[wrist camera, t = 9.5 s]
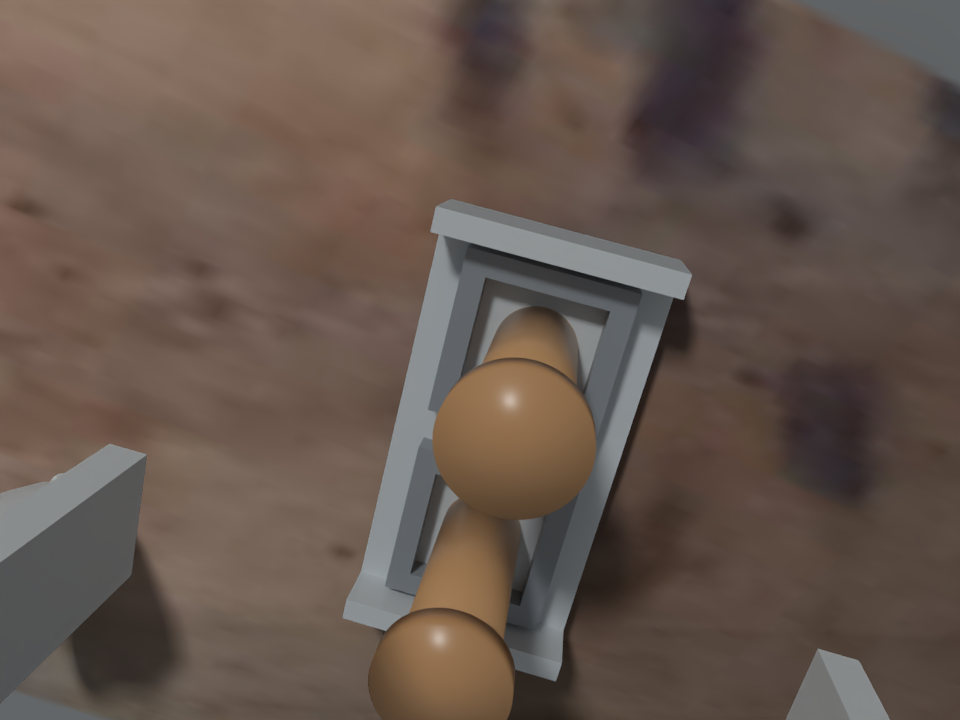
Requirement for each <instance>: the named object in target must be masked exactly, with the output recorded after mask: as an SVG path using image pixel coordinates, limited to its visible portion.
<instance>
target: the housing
mask: <svg viewBox="0 0 960 720" xmlns="http://www.w3.org/2000/svg"><path fill="white" fill-rule="evenodd" d="M430 232H433V233H437V234H439V237H438V241H437V245H436V250H435V254H434V258H433V263H432V267H431V271H430V276H429V280H428V284H427V289H426V293H425V297H424V302H423V306H422V310H421V315H420V319H419V323H418V328H417V332H416V336H415V341H414V345H413V349H412V354H411V358H410V362H409V367H408V371H407V375H406V380H405V384H404V388H403V393H402V397H401V401H400V406H399V410H398V414H397V419H396V423H395V427H394V432H393V436H392V440H391V445H390V449H389V453H388V457H387V462H386V466H385V470H384V475H383V479H382V483H381V488H380V492H379V496H378V501H377V505H376V509H375V514H374V518H373V522H372V527H371V531H370V535H369V540H368V544H367V548H366V553H365V557H364V561H363V566H362V570H361V573H360V575H359V577H358V579H357V580H356V582H355V584H354V586H353V588H352V590H351V592H350V594H349V596H348V598H347V600H346V605H345V609H344V614H343V618H344V619H348V620H351V621H354V622H358V623H361V624H364V625H368V626H371V627H374V628H378V629H381V630H384V631H387V629H388V628H389V627H390V626H391V625H392V624H393V623H394V622H396V621H397V620H398V619H400V618H401V617H403V616H405V615H407V614H409V612H410V609H411V607H412V604H413V601H414V598H415V596H416V593H417V590H418V588H419V585H420V582H421V579H422V577H423V574H424V571H425V568H426V566H427V563H428V560H429V558H430V555H431V552H432V549H433V547H434V544H435V541H436V539H437V536H438V533H439V530H440V528H441V525H442V522H443V519H444V517H445V514H446V512H447V510H448V508H449V507H450V506H451V505H452V503H453V502H455V501H456V500H457V499H459V497H457V496H456V494H455V493H454V492H453V491H452V490H451V489H450V488H449V486H448V485H447V484H446V482H445V481H444V479H443V477H442V476H441V474H440V472H439V470H438V467H437V464H436V462H435V457H434V453H433V444H432V439H433V428H434V423H435V420H436V417H437V414H438V412H439V410H440V408H441V406H442V404H443V402H444V400H445V398H446V396H447V394H448V393H449V391H450V390H451V388H452V387H453V385H454V384H455V383H456V382H457V381H458V380H459V379H460V378H461V377H462V376H463V375H465V374H466V373H467V372H469V371H470V370H472V369H473V368H475V367H477V366H479V365H481V364H482V363H483V360H484V358H485V356H486V354H487V351H488V349H489V347H490V345H491V342H492V340H493V338H494V336H495V333H496V331H497V329H498V327H499V325H500V324H501V322H502V321H503V320H504V319H505V318H506V317H507V316H508V315H510V314H511V313H513V312H514V311H516V310H518V309H521V308H524V307H530V306H540V307H546V308H549V309H552V310H554V311H556V312H558V313H559V314H561V315H562V316H563V317H564V318H565V319H566V320H567V321H568V322H569V323H570V324H571V326H572V327H573V329H574V332H575V334H576V337H577V342H578V364H577V386H578V388H579V389H580V390H581V391H582V393H583V394H584V396H585V397H586V399H587V401H588V403H589V405H590V408H591V411H592V414H593V417H594V422H595V434H596V454H595V461H594V465H593V469H592V471H591V474H590V476H589V478H588V480H587V482H586V483H585V485H584V487H583V488H582V489H581V491H580V492H579V493H578V494H577V495H576V496H575V497H574V498H573V499H572V500H571V501H570V502H569V503H567V504H566V505H565V506H563V507H562V508H560V509H558V510H556V511H554V512H552V513H550V514H547V515H545V516H541V517H538V518H533V519H526V520H519V521H520V526H521V535H520V541H519V548H518V554H517V560H516V566H515V573H514V579H513V585H512V591H511V598H510V604H509V610H508V616H507V622H506V629H505V635H504V641H505V643H506V644H507V646H508V648H509V650H510V652H511V655H512V657H513V661H514V665H515V670H519V671H522V672H525V673H529V674H532V675H535V676H539V677H542V678H545V679H549V680H552V681H556V680H557V677H558V674H559V671H560V668H561V665H562V651H563V630H564V627H565V624H566V621H567V618H568V615H569V612H570V609H571V606H572V603H573V600H574V597H575V594H576V591H577V588H578V585H579V582H580V579H581V576H582V573H583V570H584V567H585V564H586V561H587V558H588V555H589V552H590V549H591V546H592V543H593V540H594V537H595V534H596V531H597V528H598V525H599V522H600V519H601V516H602V513H603V509H604V506H605V503H606V500H607V497H608V494H609V491H610V488H611V485H612V482H613V479H614V476H615V473H616V470H617V467H618V464H619V461H620V458H621V455H622V452H623V449H624V446H625V443H626V440H627V437H628V434H629V431H630V428H631V425H632V422H633V419H634V416H635V413H636V410H637V407H638V404H639V401H640V398H641V395H642V392H643V389H644V386H645V383H646V380H647V376H648V373H649V370H650V367H651V364H652V361H653V358H654V355H655V352H656V349H657V346H658V343H659V340H660V337H661V334H662V331H663V328H664V325H665V322H666V319H667V316H668V313H669V310H670V307H671V304H672V301H673V298H678V299H682V300H684V298H685V295H686V292H687V289H688V286H689V283H690V280H691V277H692V274H691V273H690V271H689V270H688V269H687V267H686V266H685V265H684V263H683V262H682V261H681V260H678V259H675V258H671V257H667V256H663V255H660V254H656V253H652V252H648V251H645V250H641V249H637V248H633V247H630V246H626V245H622V244H618V243H615V242H611V241H607V240H603V239H600V238H596V237H592V236H588V235H585V234H581V233H577V232H573V231H570V230H566V229H562V228H558V227H555V226H551V225H547V224H543V223H540V222H536V221H532V220H528V219H525V218H521V217H517V216H514V215H510V214H506V213H502V212H499V211H495V210H491V209H487V208H484V207H480V206H476V205H472V204H469V203H465V202H461V201H457V200H454V199H450V200H448V201H446V202H444V203H442V204H440V205H438V206H436V209H435V214H434V218H433V222H432V227H431V231H430Z"/></svg>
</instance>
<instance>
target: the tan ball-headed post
mask: <svg viewBox="0 0 960 720" xmlns="http://www.w3.org/2000/svg"><path fill="white" fill-rule="evenodd" d="M577 364H578V342H577V337H576V334H575V332H574V329H573V327H572V326H571V324H570V323H569V322H568V321H567V320H566V319H565V318H564V317H563V316H562V315H561V314H559V313H558V312H556V311H554V310H552V309H549V308H546V307H540V306H530V307H524V308H521V309H518V310H516V311H514V312H513V313H511V314H510V315H508V316H507V317H506V318H505V319H504V320H503V321H502V322H501V324H500V325H499V327H498V329H497V331H496V333H495V336H494V338H493V340H492V342H491V345H490V347H489V349H488V351H487V354H486V356H485V358H484V360H483V363H482V364H481V365H479V366H477V367H475V368H473V369H472V370H470V371H469V372H467V373H466V374H465V375H463V376H462V377H461V378H460V379H459V380H458V381H457V382H456V383H455V384H454V385H453V387H452V388H451V390H450V391H449V393H448V394H447V396H446V398H445V400H444V402H443V404H442V406H441V408H440V410H439V412H438V414H437V417H436V420H435V423H434V428H433V439H432V444H433V453H434V457H435V462H436V464H437V467H438V470H439V472H440V474H441V476H442V477H443V479H444V481H445V482H446V484H447V485H448V486H449V488H450V489H451V490H452V491H453V492H454V493H455V494H456V496H457V497H459V498H460V499H461V500H462V501H463V502H465V503H466V504H468V505H469V506H471V507H472V508H474V509H476V510H478V511H480V512H482V513H484V514H487V515H490V516H493V517H497V518H502V519H509V520H526V519H533V518H538V517H541V516H545V515H547V514H550V513H552V512H554V511H556V510H558V509H560V508H562V507H563V506H565V505H566V504H567V503H569V502H570V501H571V500H572V499H573V498H574V497H575V496H576V495H577V494H578V493H579V492H580V491H581V489H582V488H583V487H584V485H585V483H586V482H587V480H588V478H589V476H590V474H591V471H592V469H593V465H594V461H595V454H596V434H595V422H594V417H593V414H592V411H591V408H590V405H589V403H588V401H587V399H586V397H585V396H584V394H583V393H582V391H581V390H580V389H579V388H578V386H577Z"/></svg>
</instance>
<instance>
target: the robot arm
mask: <svg viewBox="0 0 960 720" xmlns="http://www.w3.org/2000/svg"><path fill="white" fill-rule="evenodd" d="M146 459H147V454H143V453H140V452H136V451H133V450H129V449H126V448H122V447H119V446H115V445H112V444H109V445H107V446H106V447H104V448H102V449H101V450H99V451H98V452H96V453H95V454H93V455H92V456H90V457H89V458H87V459H86V460H84V461H83V462H81V463H80V464H78V465H76V466H75V467H73V468H72V469H70V470H69V471H67V472H66V473H64V474H63V475H61V476H60V477H58V478H57V479H55V480H54V481H52V482H50V483H49V484H47V485H46V486H44V487H43V488H41V489H40V490H38V491H37V492H35V493H34V494H32V495H31V496H29V497H28V498H26V499H24V500H23V501H21V502H20V503H18V504H17V505H15V506H14V507H12V508H11V509H9V510H8V511H6V512H5V513H3V514H2V515H0V703H1V702H2V701H3V700H4V699H5V698H6V697H7V696H8V695H9V694H10V693H11V692H12V691H13V690H15V689H16V688H17V687H18V686H19V685H20V684H21V683H22V682H23V681H24V680H25V679H26V678H27V677H28V676H29V675H30V674H31V673H32V672H33V671H34V670H35V669H36V668H37V667H38V666H39V665H40V664H41V663H42V662H43V661H44V660H45V659H46V658H47V657H48V656H49V655H50V654H51V653H52V652H53V651H54V650H55V649H56V648H58V647H59V646H60V645H61V644H62V643H63V642H64V641H65V640H66V639H67V638H68V637H69V636H70V635H71V634H72V633H73V632H74V631H75V630H76V629H77V628H78V627H79V626H80V625H81V624H82V623H83V622H84V621H85V620H86V619H87V618H88V617H89V616H90V615H91V614H92V613H93V612H94V611H95V610H96V609H97V608H98V607H99V606H101V605H102V604H103V603H104V602H105V601H106V600H107V599H108V598H109V597H110V596H111V595H112V594H113V593H114V592H115V591H116V590H117V589H118V588H119V587H120V586H121V585H122V584H123V583H124V582H125V581H126V580H127V579H128V578H129V577H130V576H131V575H132V567H133V559H134V552H135V544H136V536H137V528H138V521H139V513H140V505H141V497H142V490H143V482H144V474H145V466H146ZM786 720H890V719H889V717H888V715H887V713H886V712H885V710H884V708H883V706H882V704H881V702H880V700H879V698H878V696H877V694H876V692H875V691H874V689H873V687H872V685H871V683H870V681H869V679H868V677H867V675H866V673H865V672H864V670H863V668H862V666H861V664H860V662H859V661H858V660H855V659H851V658H848V657H844V656H841V655H838V654H834V653H831V652H827V651H824V650H820V649H817V652H816V654H815V656H814V658H813V660H812V663H811V665H810V667H809V669H808V672H807V674H806V676H805V678H804V680H803V683H802V685H801V687H800V689H799V691H798V694H797V696H796V698H795V700H794V702H793V705H792V707H791V709H790V711H789V714H788V716H787V718H786Z"/></svg>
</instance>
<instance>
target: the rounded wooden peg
mask: <svg viewBox="0 0 960 720" xmlns="http://www.w3.org/2000/svg"><path fill="white" fill-rule="evenodd" d="M520 535H521V526H520V521H519V520H509V519H502V518H497V517H493V516H490V515H487V514H484V513H482V512H480V511H478V510H476V509H474V508H472V507H471V506H469V505H468V504H466V503H465V502H463V501H462V500H461V499H460V498H459V499H457V500H456V501H455V502H453V503H452V505H451V506H450V507H449V508H448V510H447V512H446V514H445V517H444V519H443V522H442V525H441V528H440V530H439V533H438V536H437V539H436V541H435V544H434V547H433V549H432V552H431V555H430V558H429V560H428V563H427V566H426V568H425V571H424V574H423V577H422V579H421V582H420V585H419V588H418V590H417V593H416V596H415V598H414V601H413V604H412V607H411V609H410V612H409V614H407V615H405V616H403V617H401V618H400V619H398V620H397V621H396V622H394V623H393V624H392V625H391V626H390V627H389V628H388V629H387V631H386V632H385V633H384V635H383V637H382V638H381V640H380V642H379V645H378V647H377V650H376V652H375V655H374V657H373V660H372V662H371V665H370V669H369V675H368V687H369V693H370V697H371V700H372V702H373V705H374V707H375V709H376V711H377V712H378V714H379V715H380V717H381V718H382V719H383V720H507V718H508V716H509V713H510V711H511V707H512V702H513V694H514V686H515V676H516V674H515V665H514V661H513V657H512V655H511V652H510V650H509V648H508V646H507V644H506V643H505V641H504V635H505V629H506V622H507V616H508V610H509V604H510V598H511V591H512V585H513V579H514V573H515V566H516V560H517V554H518V548H519V541H520Z"/></svg>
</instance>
